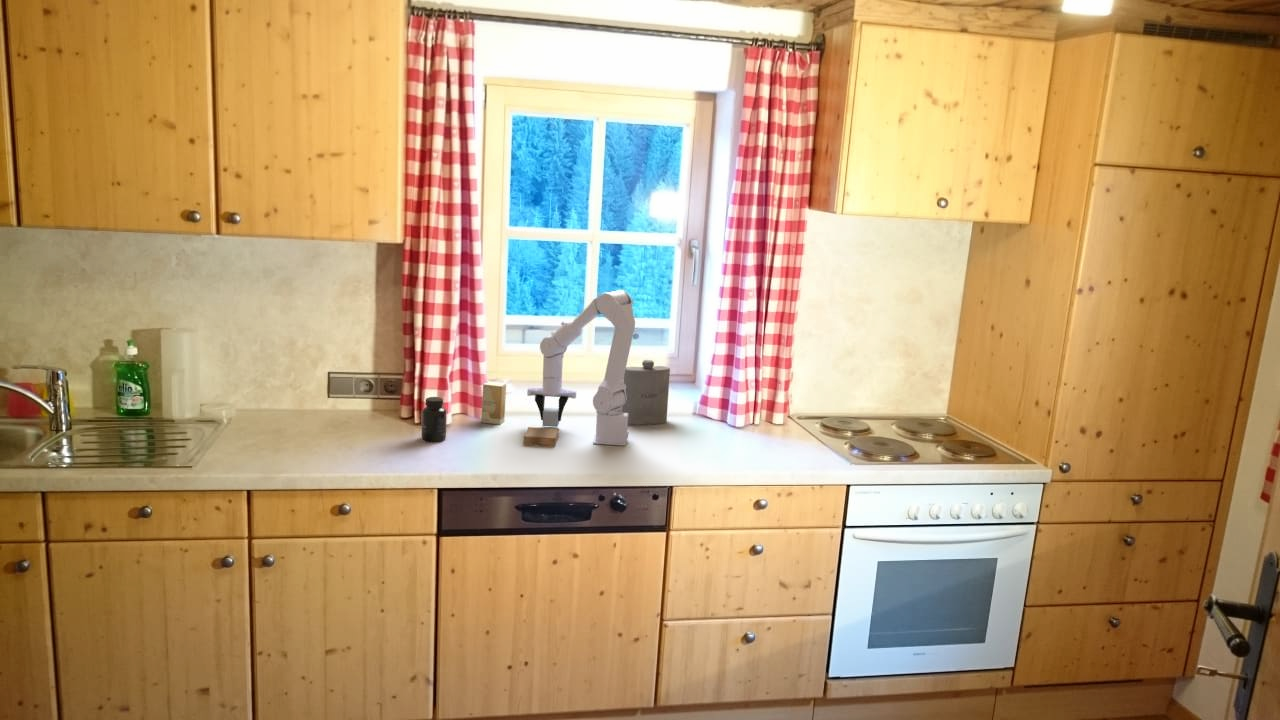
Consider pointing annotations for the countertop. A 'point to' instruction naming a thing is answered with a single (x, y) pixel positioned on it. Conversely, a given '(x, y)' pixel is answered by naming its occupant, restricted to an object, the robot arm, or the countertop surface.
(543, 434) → the walnut block
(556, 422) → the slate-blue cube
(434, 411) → the supplement bottle
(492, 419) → the skincare box
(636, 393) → the flask
